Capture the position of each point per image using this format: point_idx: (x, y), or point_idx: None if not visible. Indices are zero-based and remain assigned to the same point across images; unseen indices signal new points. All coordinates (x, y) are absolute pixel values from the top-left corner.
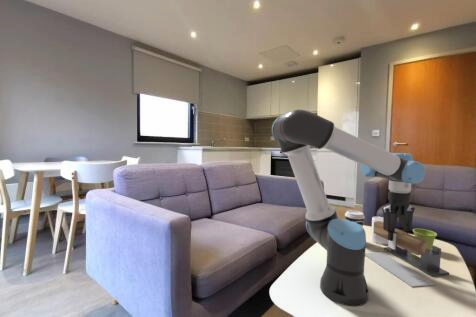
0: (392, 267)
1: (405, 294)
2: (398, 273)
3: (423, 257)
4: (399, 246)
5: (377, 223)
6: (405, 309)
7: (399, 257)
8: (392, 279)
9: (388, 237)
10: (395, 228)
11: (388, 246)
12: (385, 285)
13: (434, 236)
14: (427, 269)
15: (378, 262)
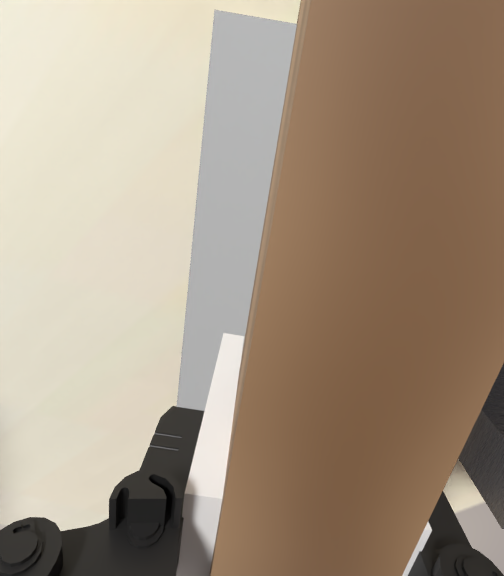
0: (247, 297)
1: (93, 468)
2: (215, 358)
3: None
4: None
5: (328, 7)
6: (14, 516)
7: None
8: (135, 377)
9: (154, 442)
10: (404, 524)
11: (224, 334)
12: (52, 402)
13: None
14: None
15: (211, 212)
